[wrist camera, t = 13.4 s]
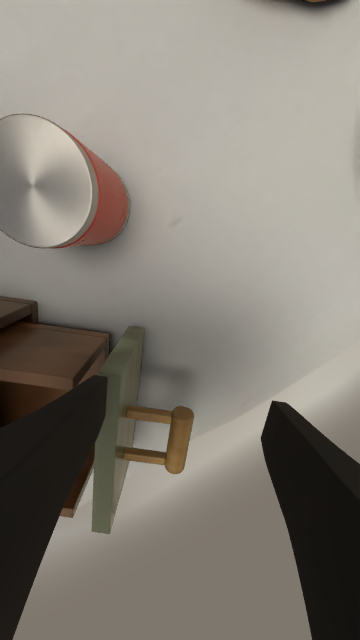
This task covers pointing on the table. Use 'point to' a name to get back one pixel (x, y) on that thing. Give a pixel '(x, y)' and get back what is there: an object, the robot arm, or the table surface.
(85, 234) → the can
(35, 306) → the cabinet
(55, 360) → the drawer
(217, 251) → the table surface
